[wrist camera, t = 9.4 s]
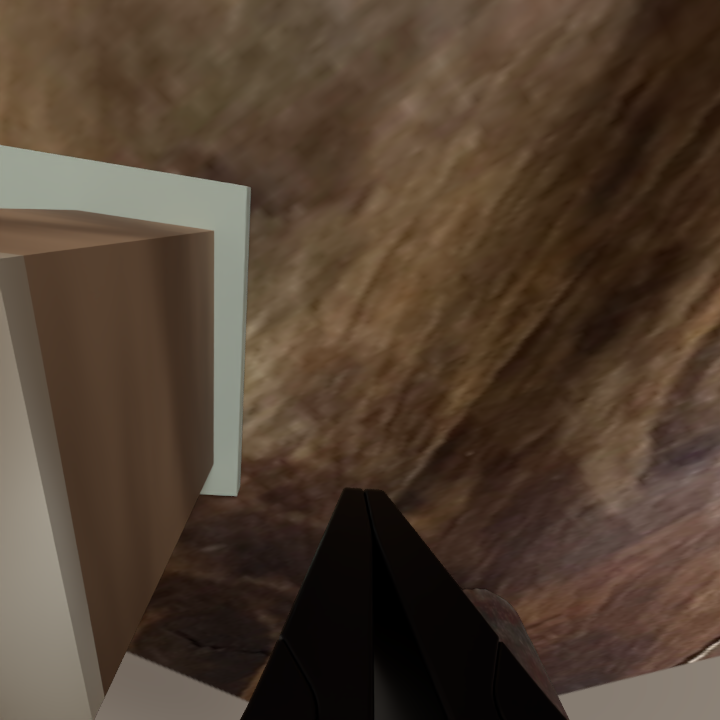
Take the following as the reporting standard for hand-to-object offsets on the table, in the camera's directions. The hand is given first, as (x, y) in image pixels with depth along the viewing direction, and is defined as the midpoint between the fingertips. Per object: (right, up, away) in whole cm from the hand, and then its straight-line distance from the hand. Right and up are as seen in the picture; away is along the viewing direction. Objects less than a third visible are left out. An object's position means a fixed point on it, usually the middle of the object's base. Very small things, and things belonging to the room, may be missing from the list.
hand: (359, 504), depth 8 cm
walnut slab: (-7, +3, +5) cm, 9 cm away
